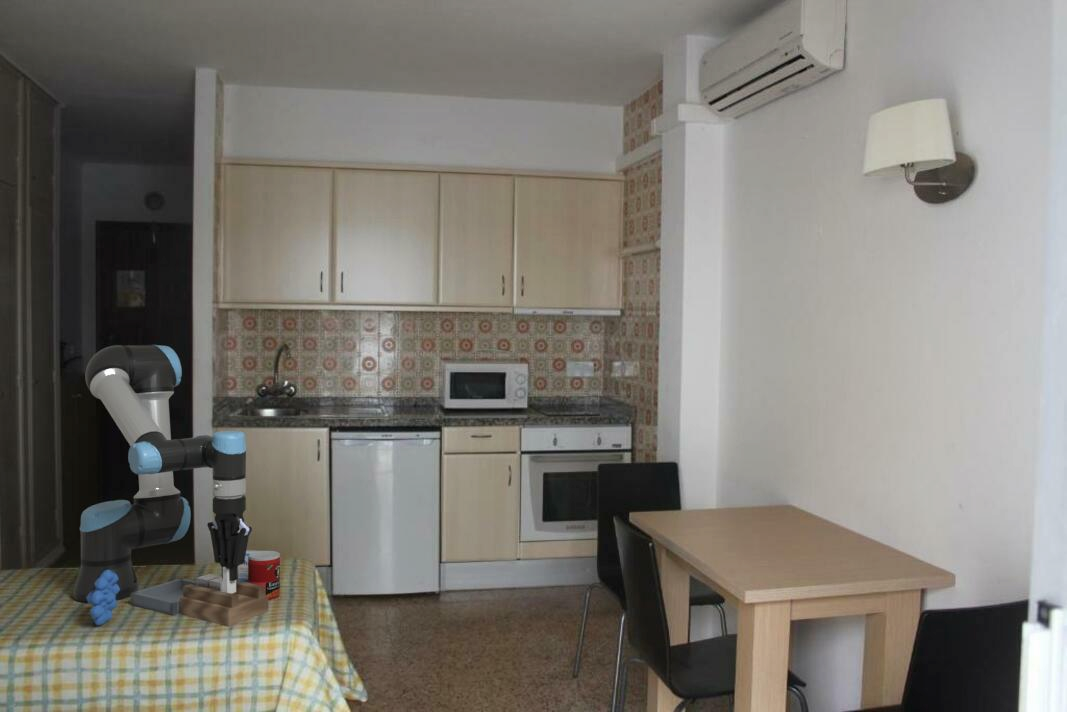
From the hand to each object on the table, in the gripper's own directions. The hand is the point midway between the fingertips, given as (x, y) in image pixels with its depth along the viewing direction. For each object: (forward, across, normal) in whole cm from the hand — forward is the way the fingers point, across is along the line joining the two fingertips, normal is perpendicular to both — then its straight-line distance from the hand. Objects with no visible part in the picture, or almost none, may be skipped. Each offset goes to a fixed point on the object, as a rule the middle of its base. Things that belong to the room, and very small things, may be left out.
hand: (229, 592), depth 204 cm
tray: (+5, -19, 0) cm, 19 cm away
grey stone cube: (+1, -7, 0) cm, 7 cm away
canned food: (+5, -3, +14) cm, 15 cm away
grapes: (+6, -21, -19) cm, 29 cm away
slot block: (+5, -2, 0) cm, 5 cm away
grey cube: (+1, -3, 0) cm, 3 cm away
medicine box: (+6, -14, +21) cm, 26 cm away
